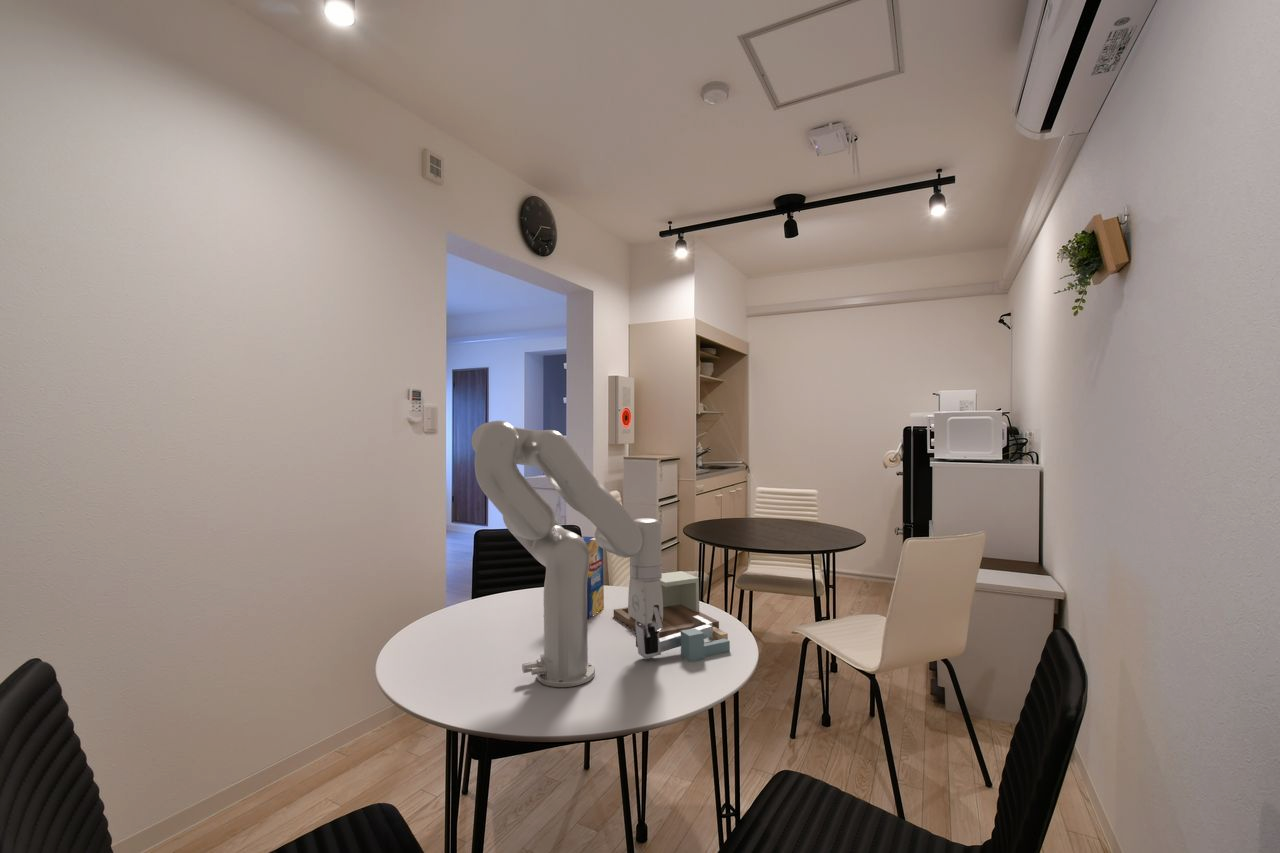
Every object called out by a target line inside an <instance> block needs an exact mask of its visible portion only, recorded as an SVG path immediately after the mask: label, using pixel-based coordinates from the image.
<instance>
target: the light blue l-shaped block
mask: <svg viewBox="0 0 1280 853" xmlns="http://www.w3.org/2000/svg"><path fill="white" fill-rule="evenodd" d="M730 645H731V643H730V640H727V639H720V640H711V641H707V642H705V639H704V633H703V632H701V631H699V630H697V629H696V628H693V629H688V630H682V631H681V646H680V657H682V658H683V659H685V660H686V661H687V662H689V663H691V662H696V661H700V660H704V659H705V657H710V656H715V655H720V654H724V653H729V652H730V651H731V646H730Z"/></svg>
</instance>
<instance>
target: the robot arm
mask: <svg viewBox="0 0 1280 853" xmlns="http://www.w3.org/2000/svg"><path fill="white" fill-rule="evenodd" d="M471 447H472V450H473V451H474V453H475V455H474V472H475V478H476V481H477V483H478V486H479V487H480V489H481V491H482V493H483V494H484V495H485V496H486V498H488V499H489V501H490V502H491V503H492V504H493V506H494V507H495V508H496V509H497V510H498V512H500V514H501V515H502V520H503V523H504V525H505V527H506V528H507V530H508V531H509V532H510V533H511V534H512V536H513V537H514V538H515V539H516V540H517V541H518V542H519V543H520V545H522V546H523V548H525V549H526V550H527V552H528V553H529V554H531V556H532V557H533V558H534V559H535V561H537V562H539V563H540V564H541V565H542V566H544V567H545V578H544V584H543V585H544V586H543V648H544V649H543V654H540V655H539V657H540V658H539V659H536V661H533V662H525V663H522V664H521V665H522V667H521V668H522V669H521V670H522V674H527V673H530V674H531V676H535V675H536V678H537V681H538V682H539V683H541V684H543V685H544V686H548V687H552V688H570V687H577V686H580V685H583V684H586V683H589V681H591V680H592V679H593V678H594V677H595V675H596V668H595V666H594V665H593V664H592V663H590V662H589V660H588V658H589V656H588V647H589V646H588V619H587V578H588V570H589V563H590V554H589V549H588V546H587V544H586V542H585V541H584V540H583V539H582V538H581V537H582V536H581V535H579V534H577V533H576V532H573V531H571V530H569V529H565V528H564V527H563V526H562V525H561V524H560V523H559V522H558V521H557V520H556V516H555V515H556V514H555V512H554V509H553V507H551V505H550V504H549V503H548V501H546V499H544V498H543V497H542V496H541V495H540V494H539V492H537V490H536V489H535V488H534V487H533V485H531V484H530V482H529V481H528V480H527V479H526V478H525V476H524V475H523V474H522V473H521V471H520V469H519V468H518V465H521V466H529V467H538V468H539V469H540V471H541V472H542V473H543V475H544V476H545V477H546V478H547V479H548V481H549V482H550V483H551V484H552V486H553V487H554V488H555V490H556V491H557V493H558V494H559V495H560V496H561V498H562V499H563V500H564V502H565V503H566V504H568V505H569V507H571V508H572V509H573V510H575V511H576V512H578V513H580V514H581V515H582V516H584V518H586V519H587V520H589V521H590V523H592V524H593V525H594V527H595V528H596V529H595V531H594V537H595V540H596V542H597V544H598V545H599V547H601V548H602V549H603V551H606V552H607V553H610V554H614V555H616V556H618V557H620V558H623V559H624V558H627V559H628V558H629V583H628V584H629V585H628V595H627V596H628V599H627V604H628V605H627V607H628V613H629V615H630V616H631V617H632V618H634V620H635V624H638V623H641V624H643V625H645V627H646V636H645V654H652V653H657V652H658V635H659V631H660V630H661V629H662V628H663V626H662V620H663V597H662V587H661V580H660V579H661V578H662V574H663V571H662V570H663V567H662V566H663V565H662V563H663V562H662V561H663V560H662V525H661V522H660V521H659V520H658V519H656V518H644V517H643V518H636V519H633V517H632V516H631V515H630V513H629V512H628V511H627V509H626V508H625V507H624V506H623V505H622V503H620V502H619V501H618V499H616V497H615V496H614V495H613V494H611V492H610V491H608V489H607V488H606V487H605V486H604V485H603V484H602V483H601V482H600V481H599V480H598V479H597V478H596V477H595V476H594V474H593V473H592V472H591V470H590V469H589V467H588V466H587V465H586V463H585V462H584V461H583V460H582V459H581V457H580V456H579V454H578V452H576V450H575V449H574V447H573V446H572V444H570V442H569V441H568V440H567V438H566V437H565V436H564V435H563V434H562V433H561V432H559V431H557V430H554V429H544V430H543V429H542V430H538V429H528V428H522V427H516V426H514V425H512V424H511V423H510V422H507V421H505V420H492V421H487V422H485V423H482V424H481V425H479V426H478V427H477V428H476V429H474V431H473V433H472V436H471ZM651 620H654V622H651ZM650 625H654V627H651V629H650ZM635 629H636V626H635ZM635 647H636V648H637V649H638V646H637V636H636V635H635Z"/></svg>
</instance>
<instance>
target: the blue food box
mask: <svg viewBox="0 0 1280 853" xmlns="http://www.w3.org/2000/svg"><path fill="white" fill-rule="evenodd" d="M580 537H581V538H582V539H583V540H584V541H585V542H586V544H587V546H588V549H589V554H590V563H589V570H588V578H587V620H590V619H591V618H593V617H594V616H596V615H597V614H598V613H597V612H599V611H600V610H602V609H603V608H604V609H605V604H604V603H605V600H604V599H605V596H604V595H605V594H604V592H605V591H604V590H605V589H604V587H605V586H604V584H605V582H604V549H602V548H601V547H599V545H598V544H597V542H596V540H595V536H580ZM604 609H603V610H604ZM603 610H602V611H603ZM600 612H601V611H600ZM600 612H599V613H600ZM596 613H597V614H596ZM595 614H596V615H595ZM593 615H594V616H593ZM592 616H593V617H592ZM590 617H591V618H590ZM589 618H590V619H589Z"/></svg>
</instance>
